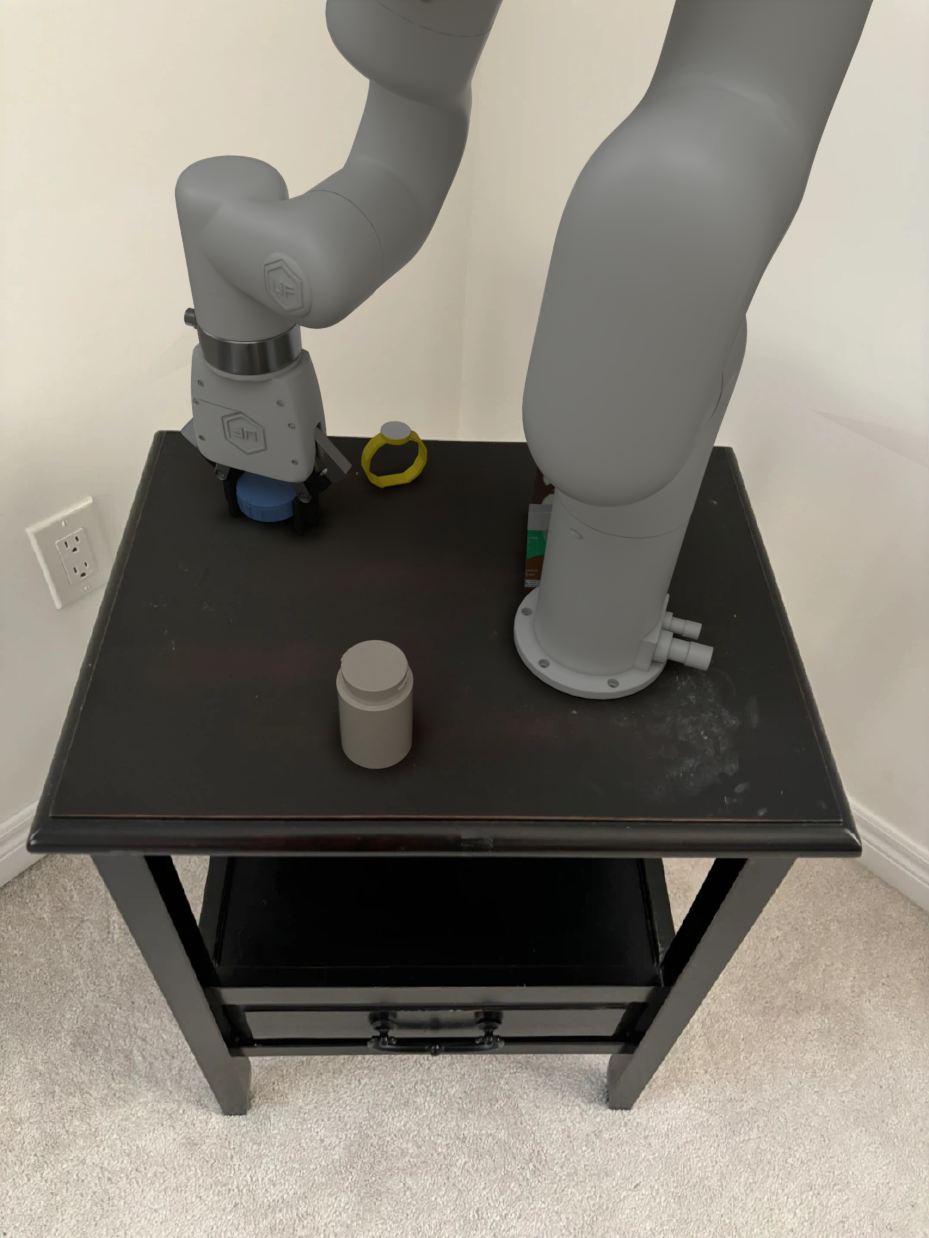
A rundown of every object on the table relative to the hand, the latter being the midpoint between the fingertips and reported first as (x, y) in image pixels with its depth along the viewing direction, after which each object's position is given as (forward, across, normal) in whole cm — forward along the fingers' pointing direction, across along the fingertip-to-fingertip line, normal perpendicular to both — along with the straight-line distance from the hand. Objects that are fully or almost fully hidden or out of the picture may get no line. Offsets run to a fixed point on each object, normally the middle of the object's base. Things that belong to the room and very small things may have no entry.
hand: (273, 514), depth 84 cm
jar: (0, +18, -19) cm, 26 cm away
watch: (0, +8, +8) cm, 12 cm away
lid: (-3, 0, 0) cm, 3 cm away
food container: (0, +26, +4) cm, 26 cm away
